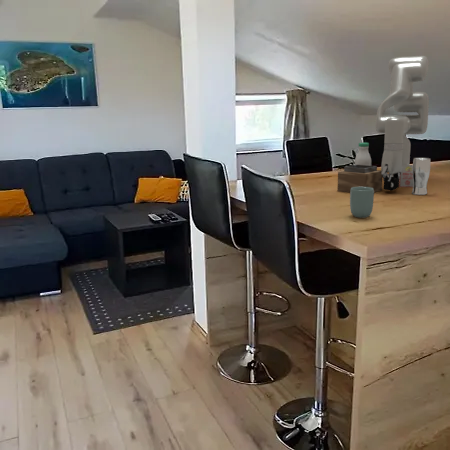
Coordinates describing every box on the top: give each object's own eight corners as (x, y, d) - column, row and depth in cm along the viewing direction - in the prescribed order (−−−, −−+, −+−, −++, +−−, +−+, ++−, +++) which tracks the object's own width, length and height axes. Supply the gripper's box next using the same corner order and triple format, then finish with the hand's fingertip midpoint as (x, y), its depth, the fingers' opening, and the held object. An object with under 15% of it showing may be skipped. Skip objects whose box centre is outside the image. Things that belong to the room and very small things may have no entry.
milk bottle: (371, 186, 226) (373, 143, 221) (354, 186, 227) (355, 143, 222) (369, 183, 233) (371, 142, 228) (353, 183, 235) (354, 142, 230)
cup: (346, 214, 172) (347, 187, 170) (367, 213, 173) (368, 186, 170) (354, 219, 165) (355, 191, 162) (376, 218, 165) (377, 190, 163)
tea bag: (399, 185, 226) (400, 164, 223) (414, 186, 223) (416, 164, 221) (399, 187, 222) (400, 165, 220) (414, 187, 220) (416, 165, 218)
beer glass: (427, 192, 207) (430, 157, 204) (428, 195, 201) (431, 159, 197) (410, 192, 209) (412, 157, 206) (410, 195, 203) (413, 159, 199)
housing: (354, 186, 226) (355, 163, 224) (381, 190, 216) (383, 166, 213) (337, 190, 217) (338, 167, 214) (364, 194, 207) (365, 169, 204)
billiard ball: (383, 191, 209) (384, 177, 207) (384, 188, 214) (384, 175, 212) (398, 192, 207) (398, 178, 205) (398, 189, 212) (399, 175, 210)
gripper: (395, 144, 213) (393, 184, 218) (374, 148, 202) (372, 190, 207) (411, 145, 208) (409, 186, 213) (391, 149, 197) (388, 193, 202)
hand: (391, 188), depth 210 cm, fingers closed on billiard ball, 6 cm apart
